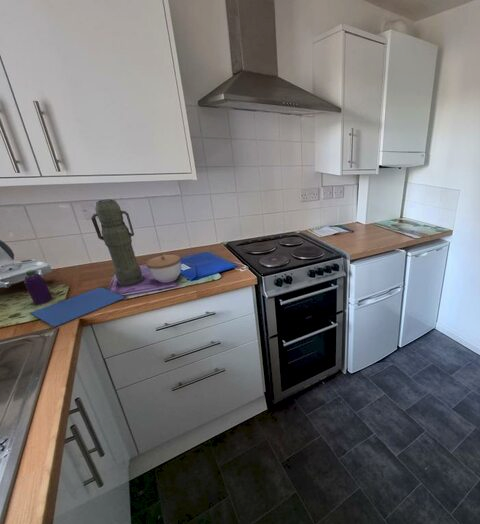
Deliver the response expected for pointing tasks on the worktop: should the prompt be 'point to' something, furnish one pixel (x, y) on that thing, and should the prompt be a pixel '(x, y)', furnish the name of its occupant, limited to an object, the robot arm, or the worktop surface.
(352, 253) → the worktop surface
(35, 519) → the worktop surface
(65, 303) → the napkin
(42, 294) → the purple bottle
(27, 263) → the robot arm
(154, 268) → the lidded bowl
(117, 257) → the thermos
